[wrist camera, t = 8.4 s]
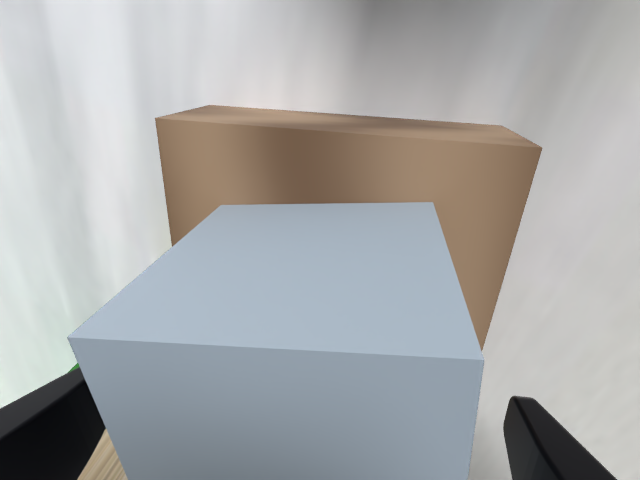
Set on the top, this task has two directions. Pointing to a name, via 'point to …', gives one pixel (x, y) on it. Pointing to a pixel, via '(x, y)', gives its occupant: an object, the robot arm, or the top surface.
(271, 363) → the grey cube
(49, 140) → the top surface
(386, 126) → the walnut block
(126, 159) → the top surface
